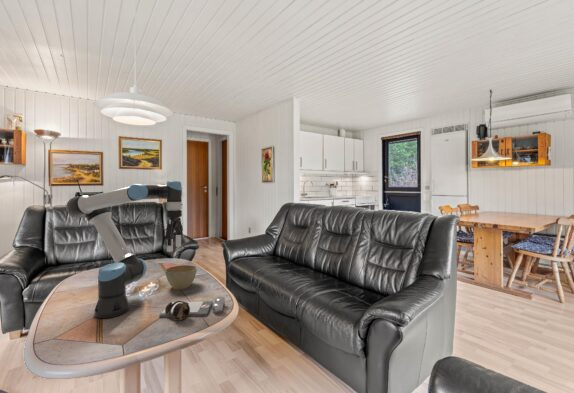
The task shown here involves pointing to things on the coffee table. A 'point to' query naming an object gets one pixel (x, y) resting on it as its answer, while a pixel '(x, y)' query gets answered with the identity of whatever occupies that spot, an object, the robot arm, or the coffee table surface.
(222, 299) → the cylinder
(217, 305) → the cylinder
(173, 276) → the olive beige round bowl
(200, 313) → the dial scale
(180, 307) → the mechanical counter
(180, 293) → the coffee table surface
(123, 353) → the coffee table surface
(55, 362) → the coffee table surface
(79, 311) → the coffee table surface
